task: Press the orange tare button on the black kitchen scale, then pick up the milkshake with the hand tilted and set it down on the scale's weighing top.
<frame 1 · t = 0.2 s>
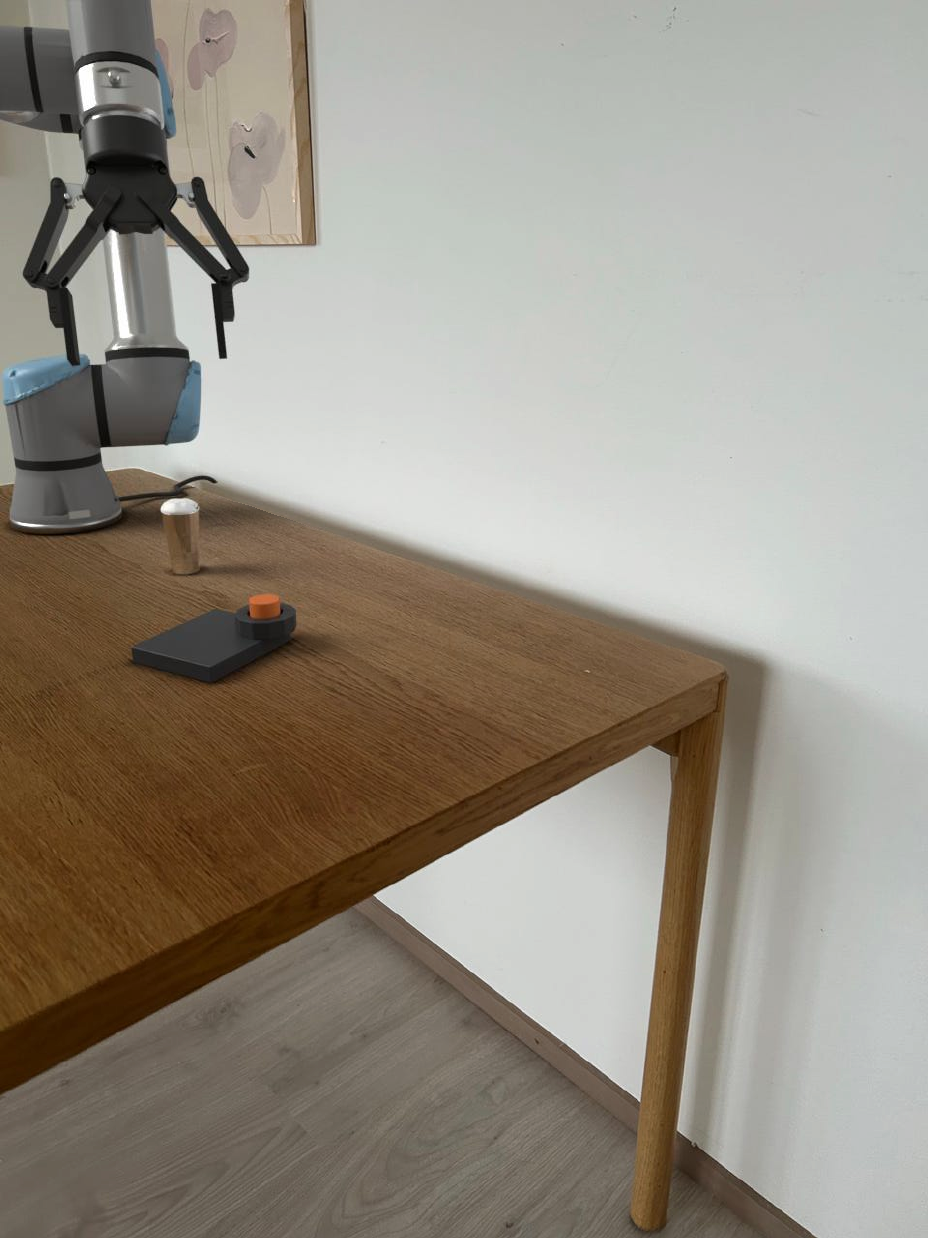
hand: (149, 359, 91), 28 cm above the table, tool tilted 20°, fingers open, 13 cm apart
scale: (214, 651, 96), on the table
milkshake: (189, 572, 119), on the table
tare button: (264, 607, 96), point 4 cm above the table, slide at 0.2 cm
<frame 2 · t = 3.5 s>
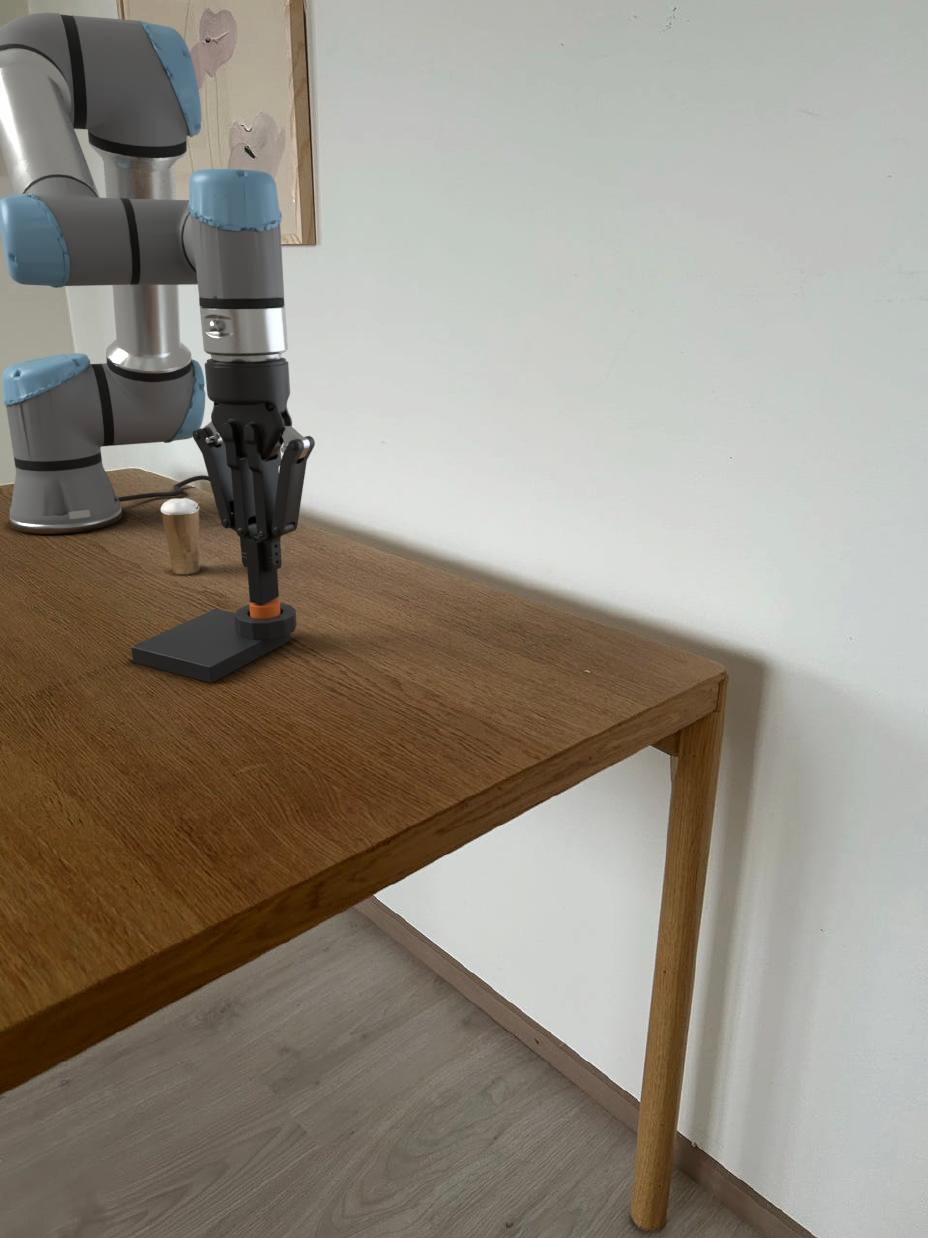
hand: (264, 599, 95), 5 cm above the table, tool pointing down, fingers closed
tare button: (265, 609, 96), point 4 cm above the table, slide at -0.1 cm, touching gripper
everything else where it was.
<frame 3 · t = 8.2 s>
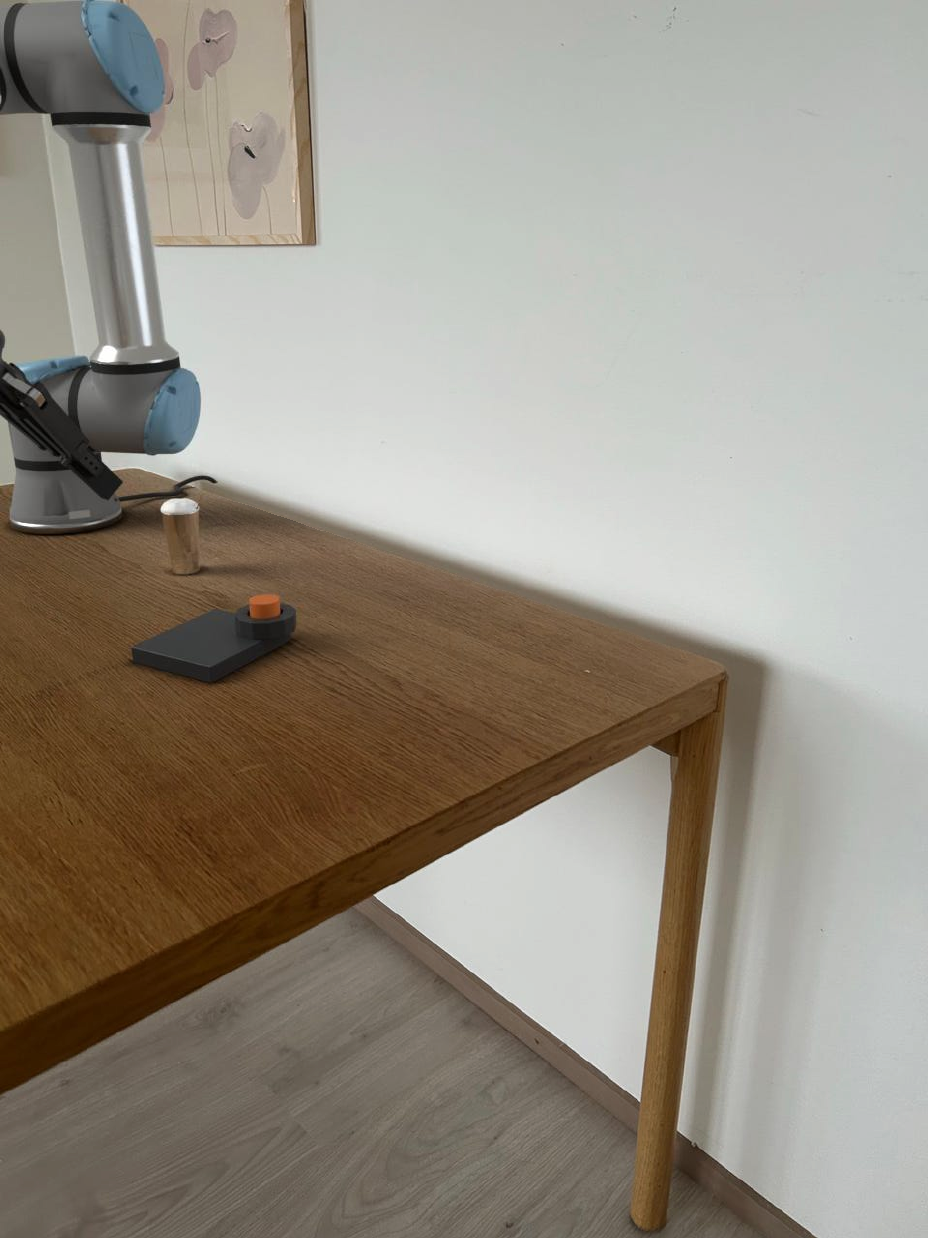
hand: (112, 489, 107), 12 cm above the table, tool tilted 40°, fingers closed
tare button: (264, 607, 96), point 4 cm above the table, slide at 0.1 cm
everything else where it was.
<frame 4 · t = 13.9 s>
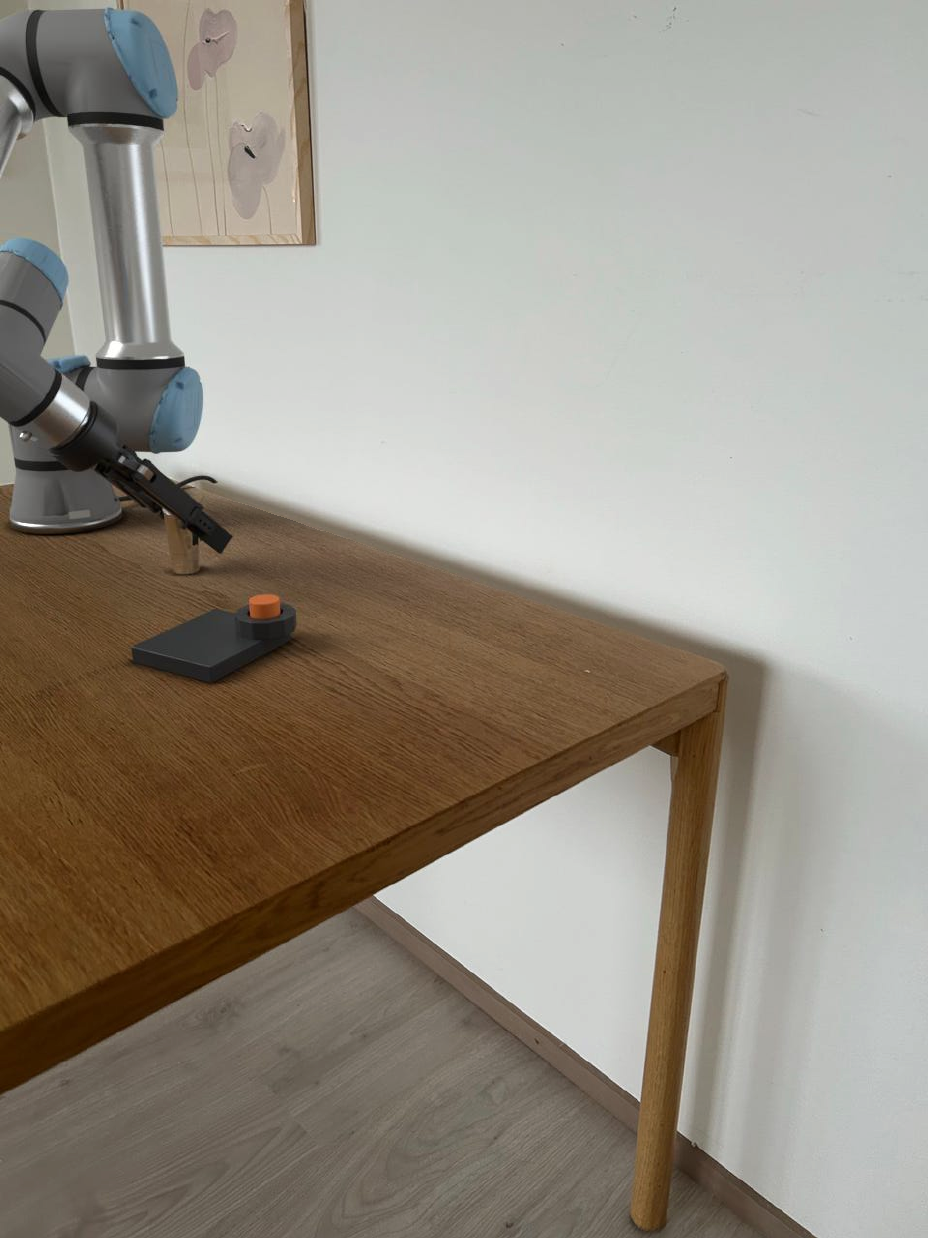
hand: (213, 539, 120), 3 cm above the table, tool tilted 45°, fingers closed on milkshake, 5 cm apart
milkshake: (189, 572, 119), on the table, touching gripper
everything else where it was.
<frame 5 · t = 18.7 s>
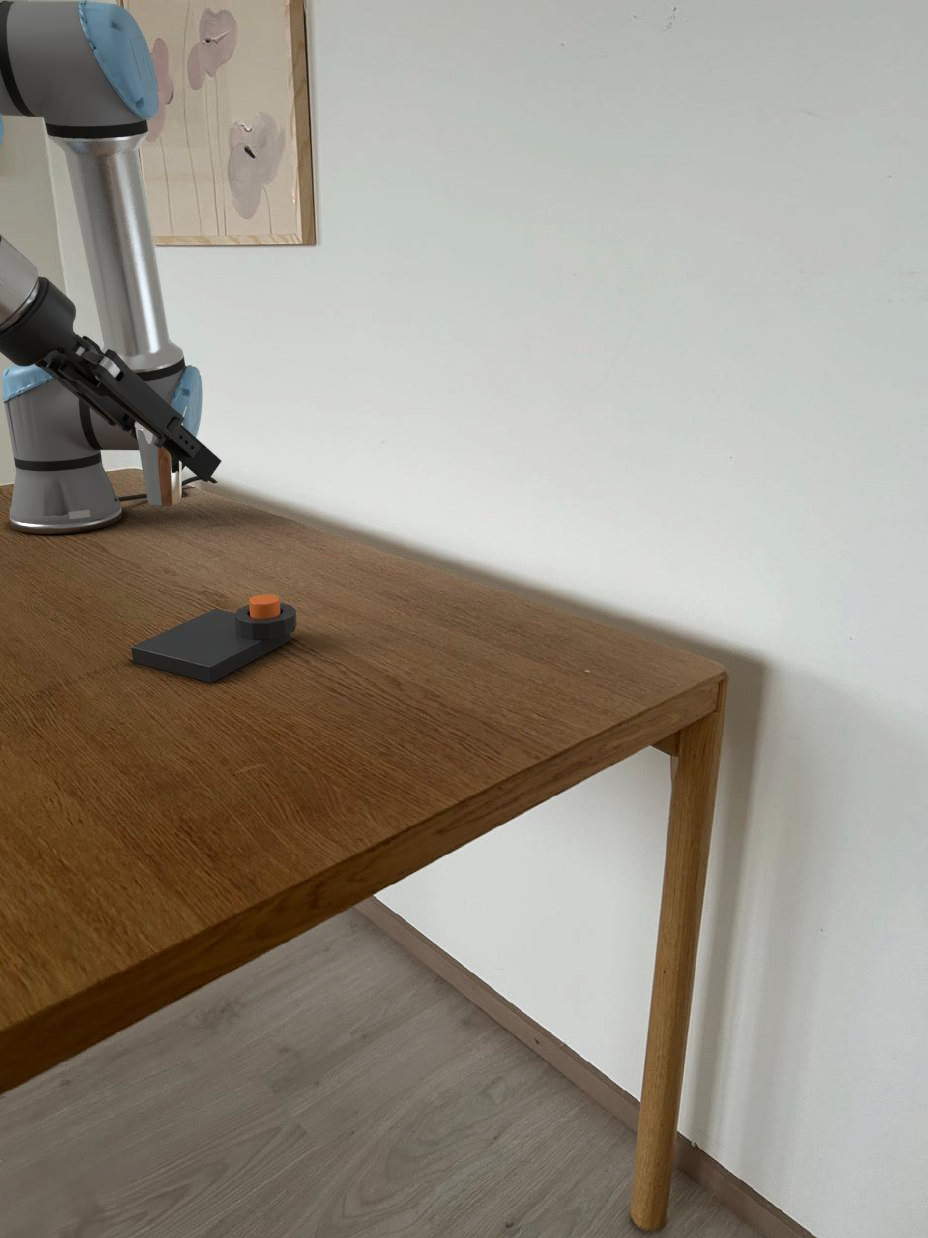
hand: (198, 466, 99), 16 cm above the table, tool tilted 45°, fingers closed on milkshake, 5 cm apart
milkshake: (168, 504, 98), point 13 cm above the table, touching gripper
everything else where it was.
when the fingers open (5 cm above the table, at t = 23.4 s): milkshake stays where it is, resting on scale.
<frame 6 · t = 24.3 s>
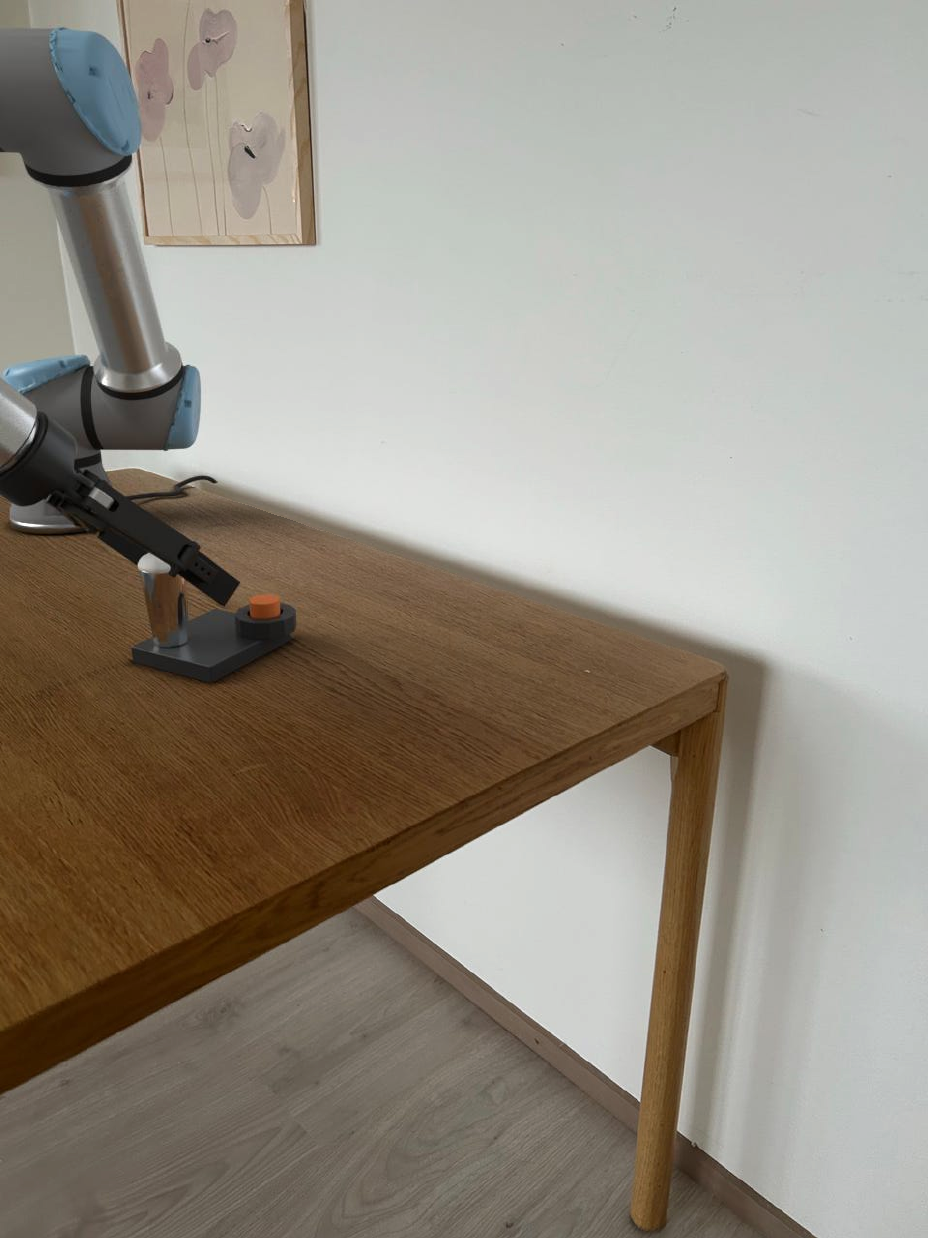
hand: (191, 577, 93), 8 cm above the table, tool tilted 45°, fingers open, 13 cm apart
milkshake: (175, 643, 93), point 2 cm above the table, touching scale
everything else where it was.
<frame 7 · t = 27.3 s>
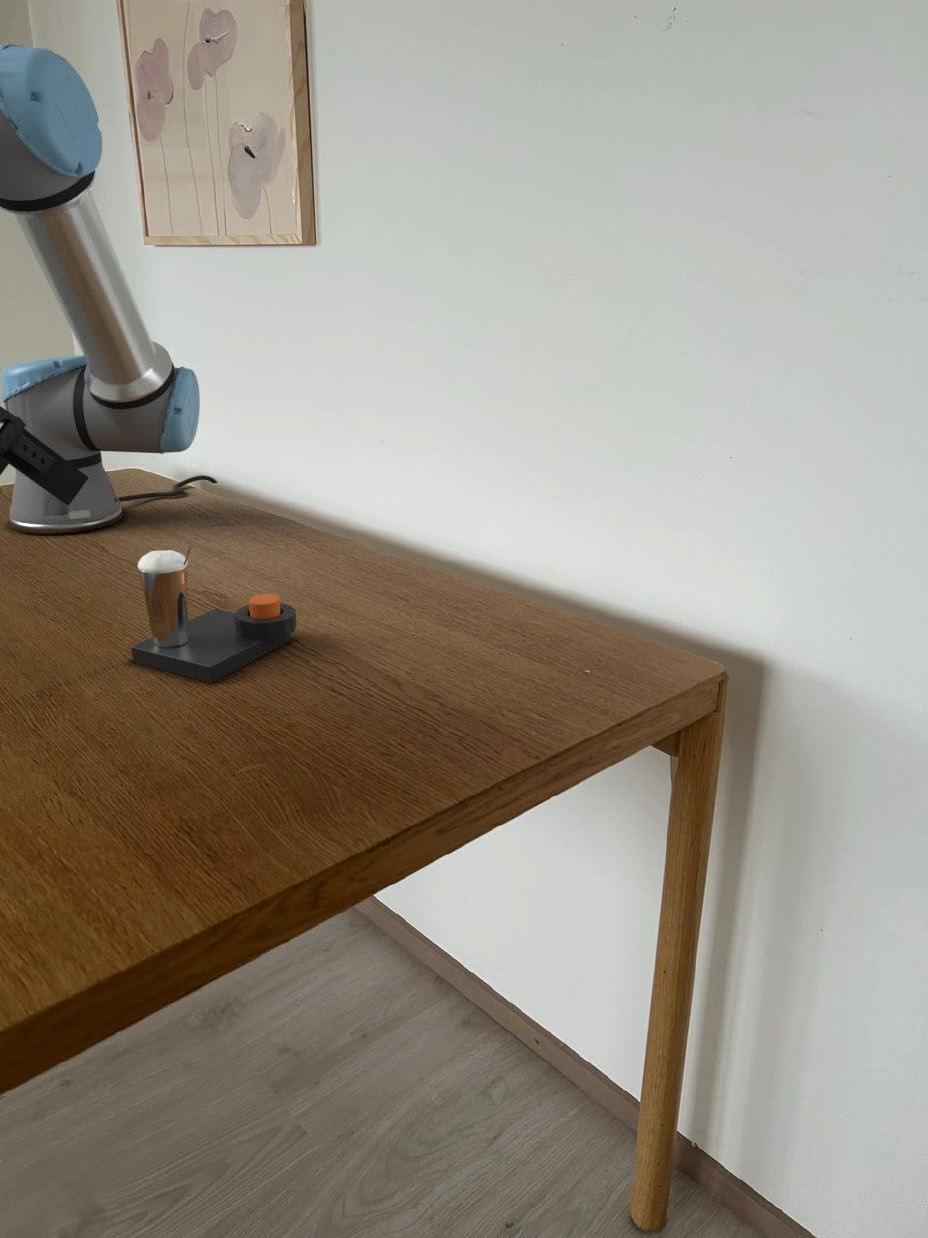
hand: (39, 477, 80), 20 cm above the table, tool tilted 45°, fingers open, 13 cm apart
nothing on the table moved.
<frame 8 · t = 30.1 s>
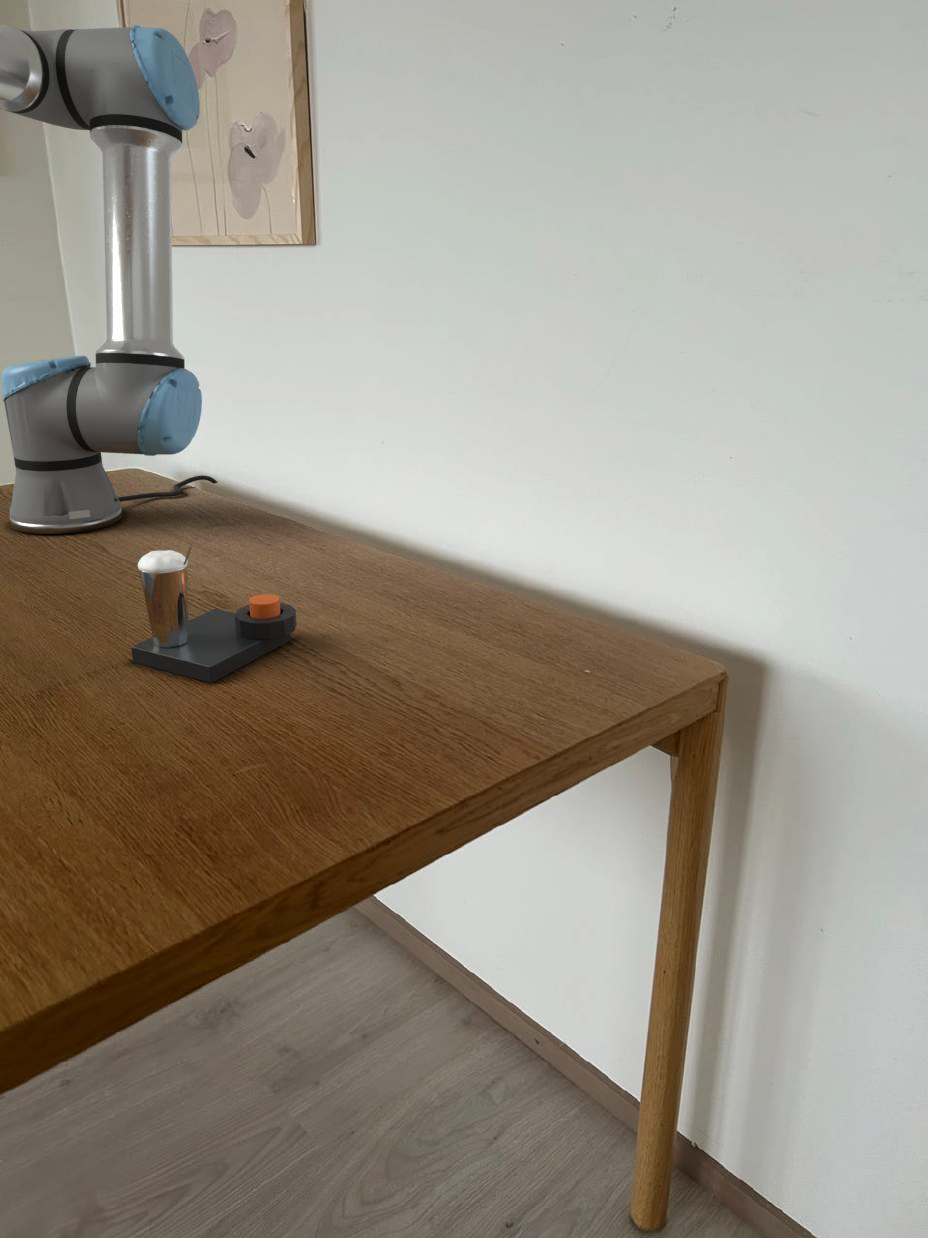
nothing on the table moved.
at the end: tare button pushed in 1.0 cm at the most during the clip, back to where it started at the end; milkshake 0.4 cm from the target spot on the scale, point 1.5 cm above the scale's base; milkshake touching scale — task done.
